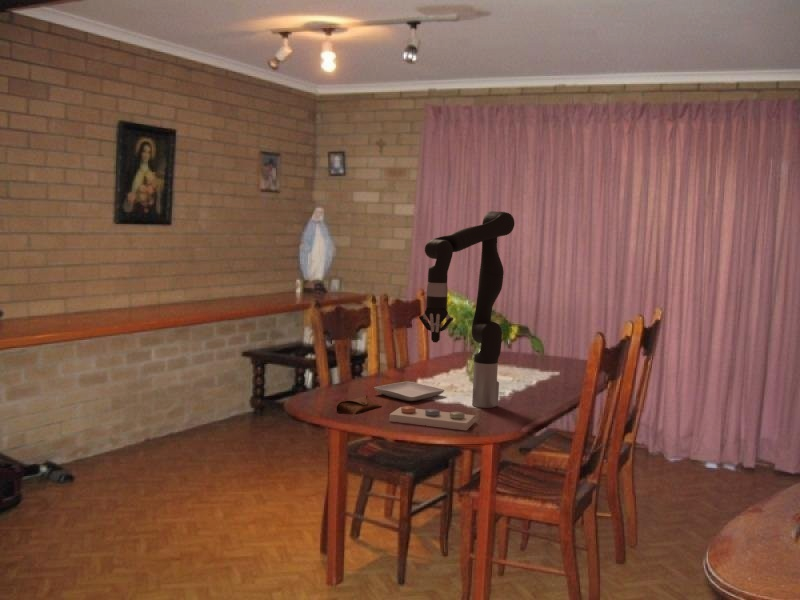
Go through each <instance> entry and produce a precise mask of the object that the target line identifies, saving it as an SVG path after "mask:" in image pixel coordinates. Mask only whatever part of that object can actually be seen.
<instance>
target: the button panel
mask: <svg viewBox="0 0 800 600" xmlns="http://www.w3.org/2000/svg"><path fill="white" fill-rule="evenodd" d="M401 407H402V406H400V407H399V408H397V409H395V410H394V411H392V412H391V413H389V419H388V421H389V422H394V423H400V424H401V423H402V424H410V425H419V426H425V425H426V427H427V426H428V427H435V428H441V429H442V428H443V429H450V430H460V431H468V430H469V428H470V427H471V426H472V425H474V424H475V423H476V422H475V421H476V415H474V414H466V413H464V414H465V417H464V418H462V419H461V420H460V419H453V418H451V417H450V412H447V411H441V410H440V415H438V416H437V417H434V416H428V415H426V414H425V410H426V409H421V408H416V412H414V413H413V414H408V413H404V412H402V411H401Z"/></svg>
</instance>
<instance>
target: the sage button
mask: <svg viewBox="0 0 800 600" xmlns="http://www.w3.org/2000/svg"><path fill="white" fill-rule="evenodd" d="M449 413H450V417H451V418H453V419H460V420H461V419H462V418H464V417H465V414H466V413H464V412H462V411H451V412H449Z"/></svg>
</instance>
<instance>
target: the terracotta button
mask: <svg viewBox="0 0 800 600" xmlns="http://www.w3.org/2000/svg"><path fill="white" fill-rule="evenodd" d="M400 407H401V411H402V412H404V413H408V414H413V413H414V412H416V409H417V408H416V407H415V406H410V405H406V406H400Z"/></svg>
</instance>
